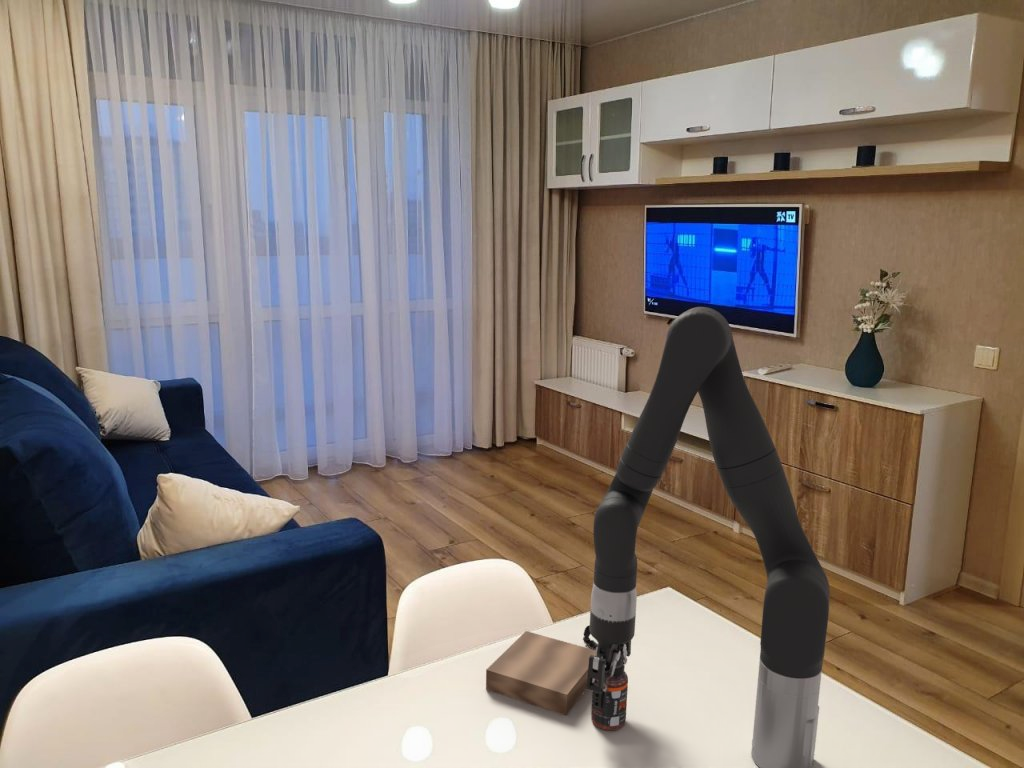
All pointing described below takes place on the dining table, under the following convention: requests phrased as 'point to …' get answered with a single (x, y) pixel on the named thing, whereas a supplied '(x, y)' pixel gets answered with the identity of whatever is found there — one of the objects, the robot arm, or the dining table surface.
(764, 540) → the robot arm
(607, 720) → the supplement bottle
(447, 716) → the dining table surface
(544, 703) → the walnut block
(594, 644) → the wristwatch
